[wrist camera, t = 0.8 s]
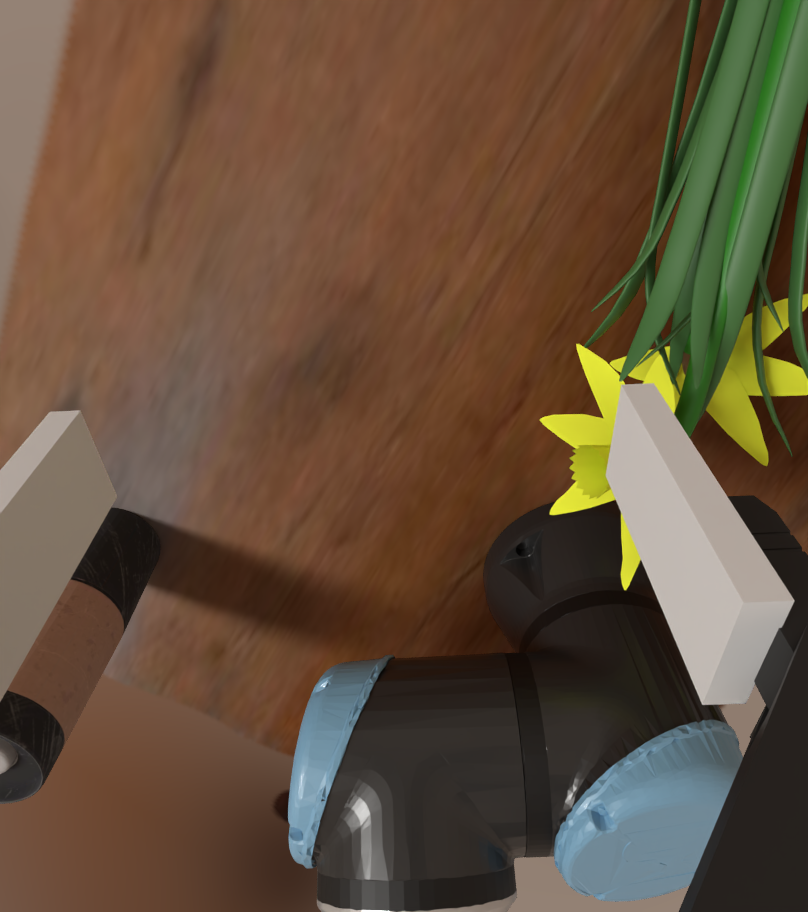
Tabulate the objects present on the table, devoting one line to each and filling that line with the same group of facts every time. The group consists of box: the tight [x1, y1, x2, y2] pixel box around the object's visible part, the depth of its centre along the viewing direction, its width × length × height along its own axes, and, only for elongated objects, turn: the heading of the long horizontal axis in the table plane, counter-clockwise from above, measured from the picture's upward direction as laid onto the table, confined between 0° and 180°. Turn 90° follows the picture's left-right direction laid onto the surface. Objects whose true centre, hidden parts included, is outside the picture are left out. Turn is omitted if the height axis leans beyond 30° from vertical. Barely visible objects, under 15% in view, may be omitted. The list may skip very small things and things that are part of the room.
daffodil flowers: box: [540, 0, 808, 590], centre depth 32 cm, size 17×15×35 cm
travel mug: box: [0, 508, 160, 804], centre depth 44 cm, size 8×8×20 cm
